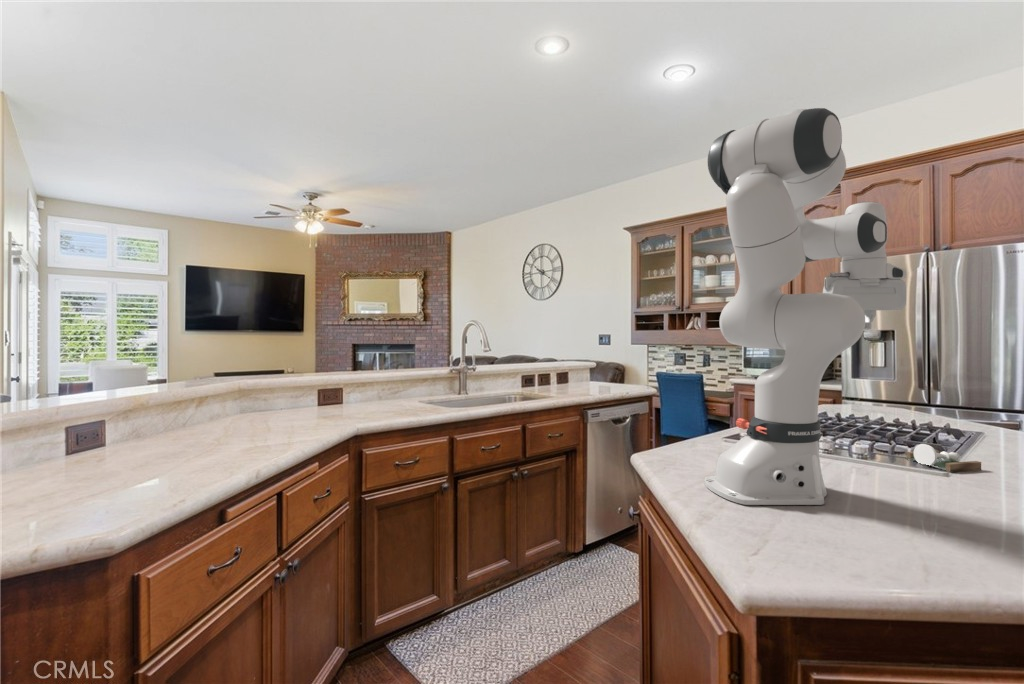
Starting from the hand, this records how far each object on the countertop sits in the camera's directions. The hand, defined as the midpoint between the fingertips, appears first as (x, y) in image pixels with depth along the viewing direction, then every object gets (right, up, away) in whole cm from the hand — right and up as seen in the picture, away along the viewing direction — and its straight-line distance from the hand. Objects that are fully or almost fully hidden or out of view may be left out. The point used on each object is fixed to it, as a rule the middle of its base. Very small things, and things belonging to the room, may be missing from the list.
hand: (862, 329), depth 117 cm
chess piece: (+9, -29, -7) cm, 31 cm away
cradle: (+14, -31, -6) cm, 35 cm away
